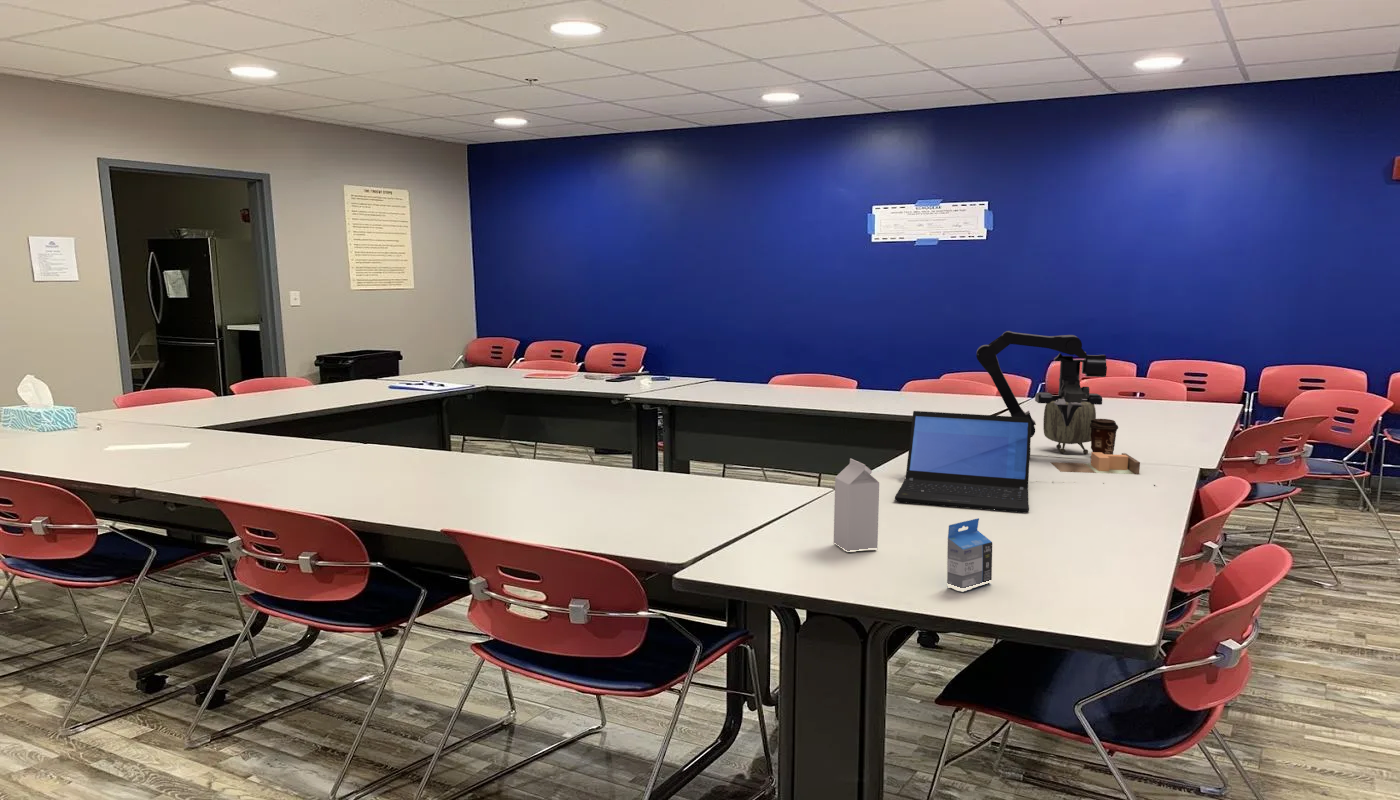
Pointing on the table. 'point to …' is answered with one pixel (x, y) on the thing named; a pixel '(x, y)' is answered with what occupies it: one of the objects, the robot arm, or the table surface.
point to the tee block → (1108, 461)
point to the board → (1087, 468)
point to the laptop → (968, 461)
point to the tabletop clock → (1076, 429)
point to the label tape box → (968, 555)
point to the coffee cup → (1103, 435)
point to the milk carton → (856, 508)
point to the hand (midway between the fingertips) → (1066, 426)
